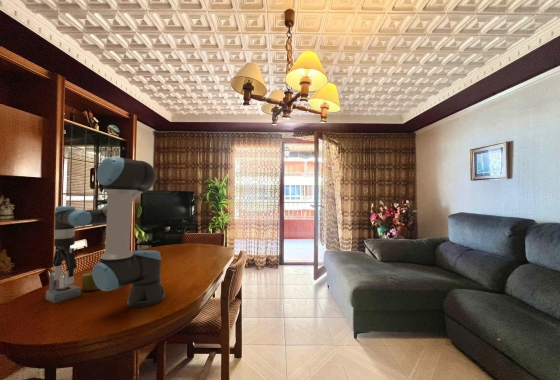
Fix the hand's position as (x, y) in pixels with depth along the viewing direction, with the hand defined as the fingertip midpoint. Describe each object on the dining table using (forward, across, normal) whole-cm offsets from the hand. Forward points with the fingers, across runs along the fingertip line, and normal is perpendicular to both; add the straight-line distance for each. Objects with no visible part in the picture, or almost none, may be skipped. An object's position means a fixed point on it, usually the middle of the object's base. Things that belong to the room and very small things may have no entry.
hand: (63, 281), depth 118 cm
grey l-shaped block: (+8, +4, 0) cm, 9 cm away
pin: (+8, 0, 0) cm, 8 cm away
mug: (+8, +1, -14) cm, 16 cm away
